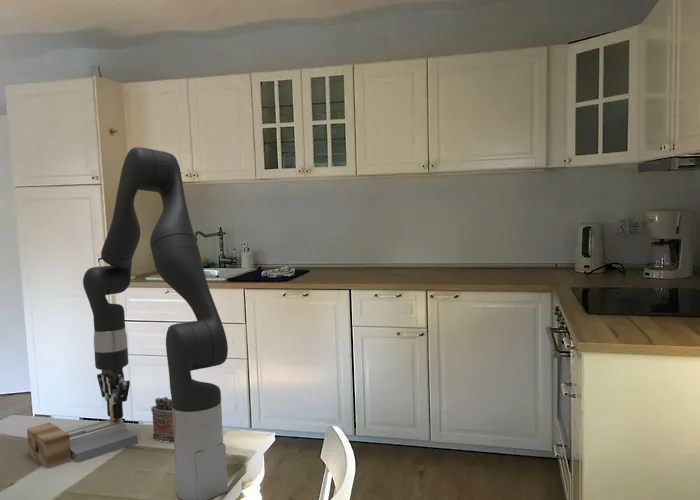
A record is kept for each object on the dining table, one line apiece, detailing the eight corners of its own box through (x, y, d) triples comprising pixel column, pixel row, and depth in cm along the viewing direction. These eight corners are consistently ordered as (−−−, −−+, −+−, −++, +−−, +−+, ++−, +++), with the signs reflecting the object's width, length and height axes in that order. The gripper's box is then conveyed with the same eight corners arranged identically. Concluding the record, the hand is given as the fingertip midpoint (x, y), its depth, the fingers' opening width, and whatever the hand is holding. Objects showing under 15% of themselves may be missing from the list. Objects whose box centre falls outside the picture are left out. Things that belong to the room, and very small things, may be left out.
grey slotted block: (137, 443, 138) (136, 428, 138) (77, 462, 128) (76, 447, 128) (108, 427, 149) (107, 414, 149) (50, 444, 139) (49, 430, 139)
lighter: (149, 438, 141) (147, 398, 140) (160, 433, 144) (157, 394, 143) (174, 443, 137) (171, 402, 136) (184, 438, 140) (182, 398, 139)
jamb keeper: (71, 460, 129) (69, 434, 129) (47, 468, 126) (45, 441, 125) (51, 447, 138) (50, 422, 137) (28, 453, 134) (26, 428, 134)
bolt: (124, 427, 143) (122, 396, 142) (86, 438, 136) (84, 406, 136) (119, 424, 144) (118, 394, 144) (82, 435, 138) (80, 404, 138)
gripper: (139, 348, 139) (143, 418, 140) (113, 340, 149) (117, 406, 150) (108, 354, 134) (112, 427, 135) (83, 346, 143) (88, 414, 145)
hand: (115, 416), depth 142 cm, fingers closed on bolt, 2 cm apart
